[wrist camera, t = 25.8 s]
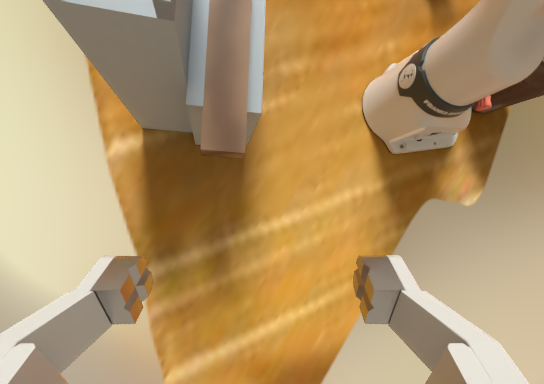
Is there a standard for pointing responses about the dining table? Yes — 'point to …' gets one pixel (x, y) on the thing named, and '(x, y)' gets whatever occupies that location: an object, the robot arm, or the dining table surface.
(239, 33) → the brown bar
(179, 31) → the step box
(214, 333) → the dining table surface
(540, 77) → the plant pot
